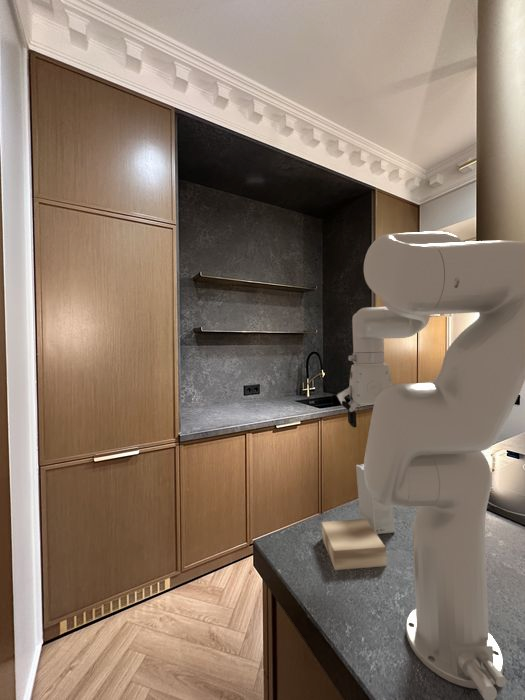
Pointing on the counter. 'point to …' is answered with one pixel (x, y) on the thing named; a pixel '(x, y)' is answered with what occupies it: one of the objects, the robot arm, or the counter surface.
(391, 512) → the skincare box
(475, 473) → the robot arm
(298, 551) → the counter surface
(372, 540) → the birch block
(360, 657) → the counter surface
